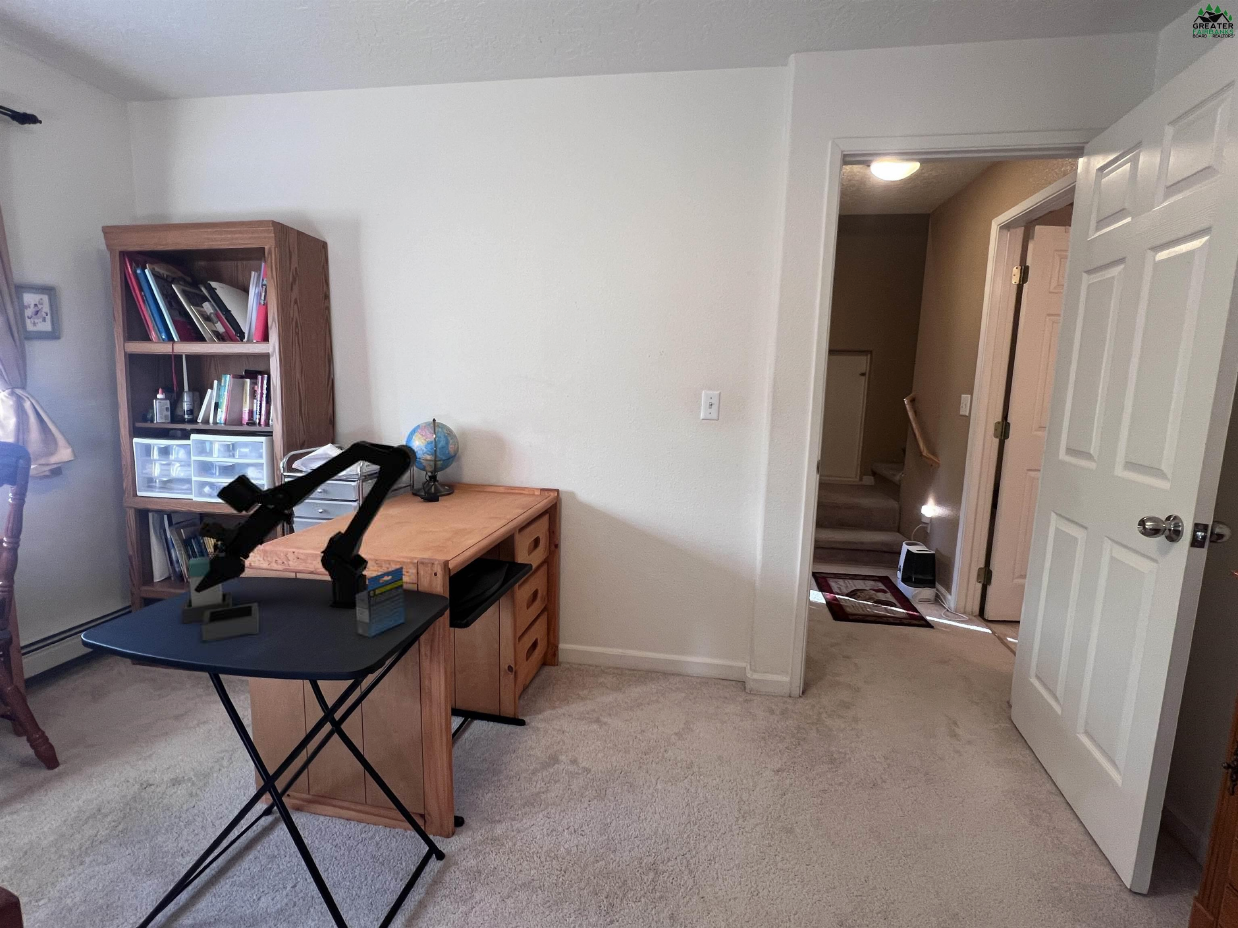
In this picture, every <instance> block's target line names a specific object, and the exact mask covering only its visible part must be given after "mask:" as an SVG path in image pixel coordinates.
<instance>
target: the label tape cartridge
mask: <svg viewBox="0 0 1238 928" xmlns="http://www.w3.org/2000/svg"><path fill="white" fill-rule="evenodd" d="M403 571H404V566H400V567H397V568H394V569H391V570H388V571H386V572H382V573H379V574H376V575H373V576H371V577H368V578H367V591H364V592H362V593H359V594H357V595H356V608H355V609H356V629H357V633H356V634H358V635H360V636H364V637H366V638H372V637H374V636H377V635H379V634H381V633H383V632H385V631H387V630H389V629H391V628H393V627H396V626H398V625H400V624H403V623H405V621H406V620H405V619H406V618H405V617H406V616H405V598H404V597H405V596H404V595H405V594H404V593H405V592H404V575H403V574H404V572H403ZM385 577H387V578H388V579H385V580H383V579H384V578H385ZM389 577H390V578H389ZM381 580H383V581H381Z"/></svg>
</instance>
